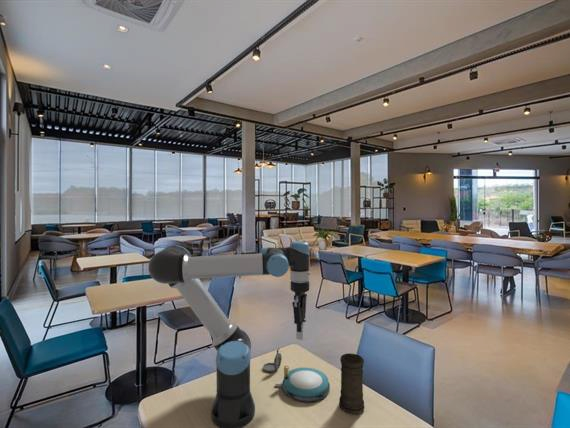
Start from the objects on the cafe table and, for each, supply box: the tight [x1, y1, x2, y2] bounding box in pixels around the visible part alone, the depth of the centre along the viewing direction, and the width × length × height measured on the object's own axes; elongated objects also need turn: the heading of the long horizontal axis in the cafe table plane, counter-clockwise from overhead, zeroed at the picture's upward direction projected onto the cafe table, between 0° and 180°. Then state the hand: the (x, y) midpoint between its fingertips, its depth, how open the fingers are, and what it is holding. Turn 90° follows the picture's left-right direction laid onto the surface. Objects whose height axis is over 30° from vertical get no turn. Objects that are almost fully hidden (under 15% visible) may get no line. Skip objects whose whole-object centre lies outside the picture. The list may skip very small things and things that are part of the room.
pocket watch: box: [262, 347, 282, 373], centre depth 137 cm, size 8×8×10 cm
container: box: [338, 352, 365, 416], centre depth 112 cm, size 9×9×18 cm
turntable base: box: [275, 379, 331, 404], centre depth 124 cm, size 22×19×2 cm
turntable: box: [283, 365, 329, 397], centre depth 124 cm, size 18×18×6 cm
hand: (300, 338), depth 124 cm, fingers closed
